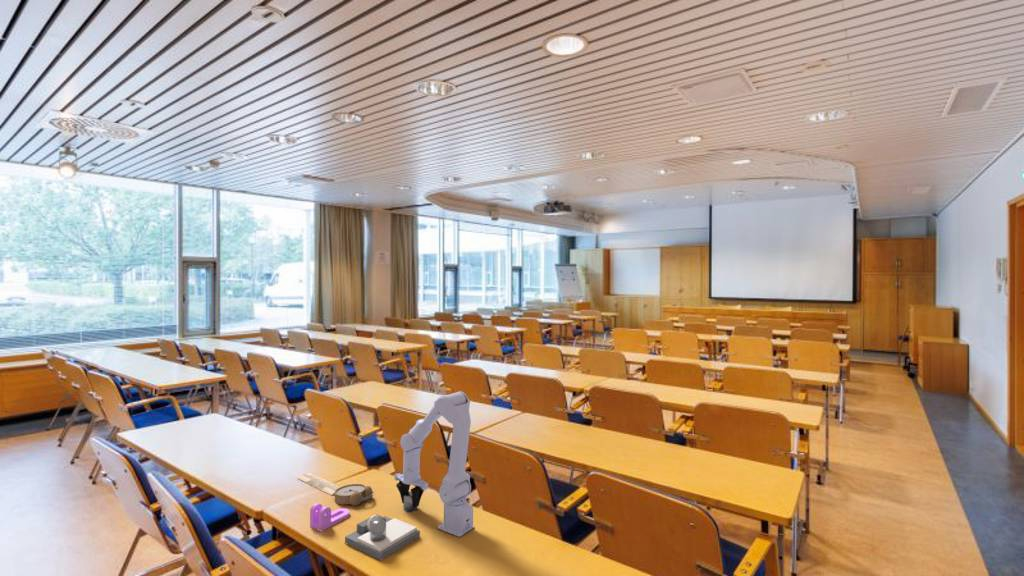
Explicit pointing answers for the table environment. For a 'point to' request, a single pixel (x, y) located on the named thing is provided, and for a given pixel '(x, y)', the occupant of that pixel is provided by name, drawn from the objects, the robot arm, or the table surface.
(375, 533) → the cylinder
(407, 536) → the scale
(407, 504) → the cylinder
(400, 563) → the table surface
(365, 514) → the table surface
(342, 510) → the bracket
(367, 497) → the alarm clock
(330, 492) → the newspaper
